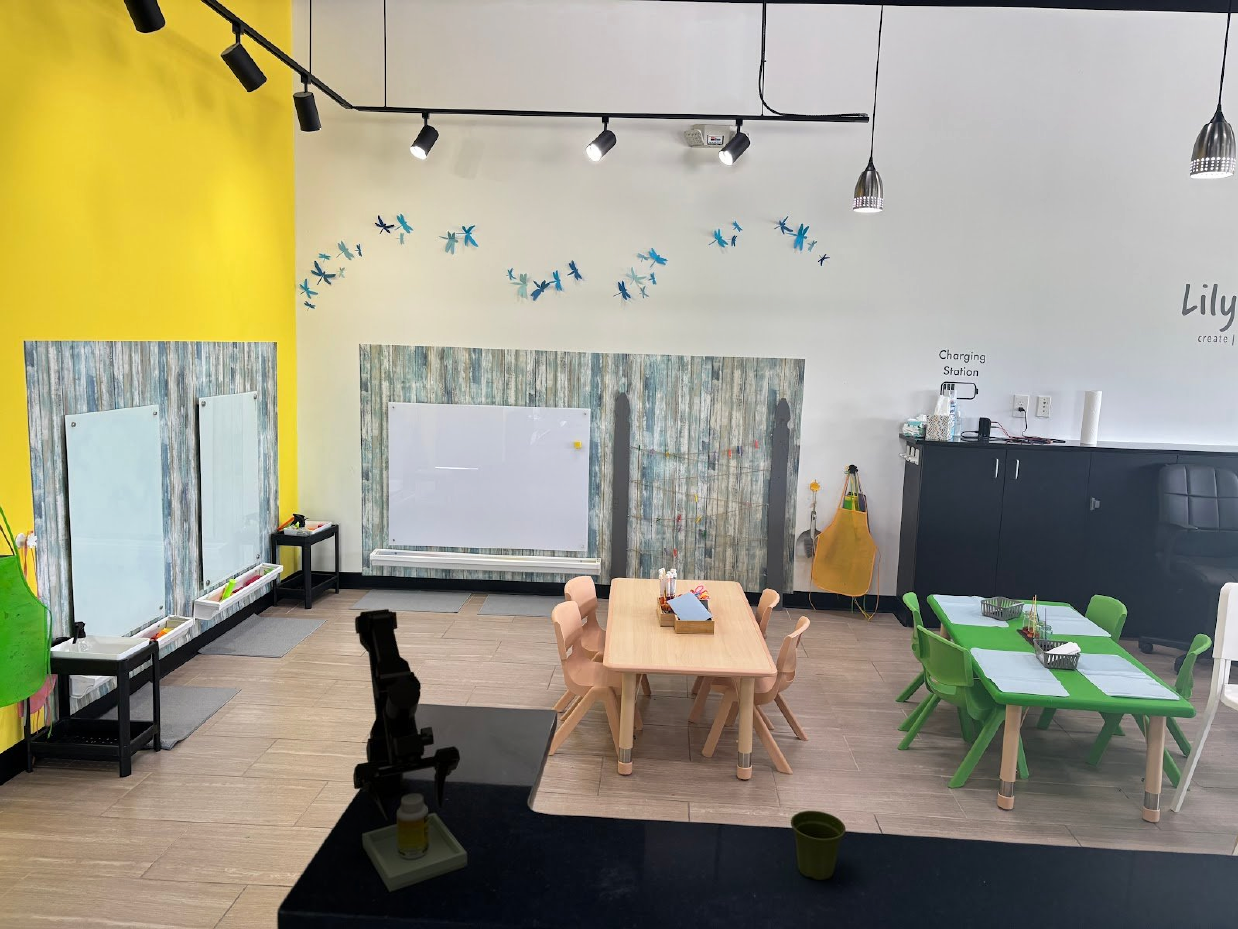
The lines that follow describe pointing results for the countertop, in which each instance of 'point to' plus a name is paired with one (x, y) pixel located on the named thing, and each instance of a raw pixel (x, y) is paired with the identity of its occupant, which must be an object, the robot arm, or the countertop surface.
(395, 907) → the countertop surface
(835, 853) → the plant pot
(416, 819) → the supplement bottle
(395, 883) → the tray
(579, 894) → the countertop surface
